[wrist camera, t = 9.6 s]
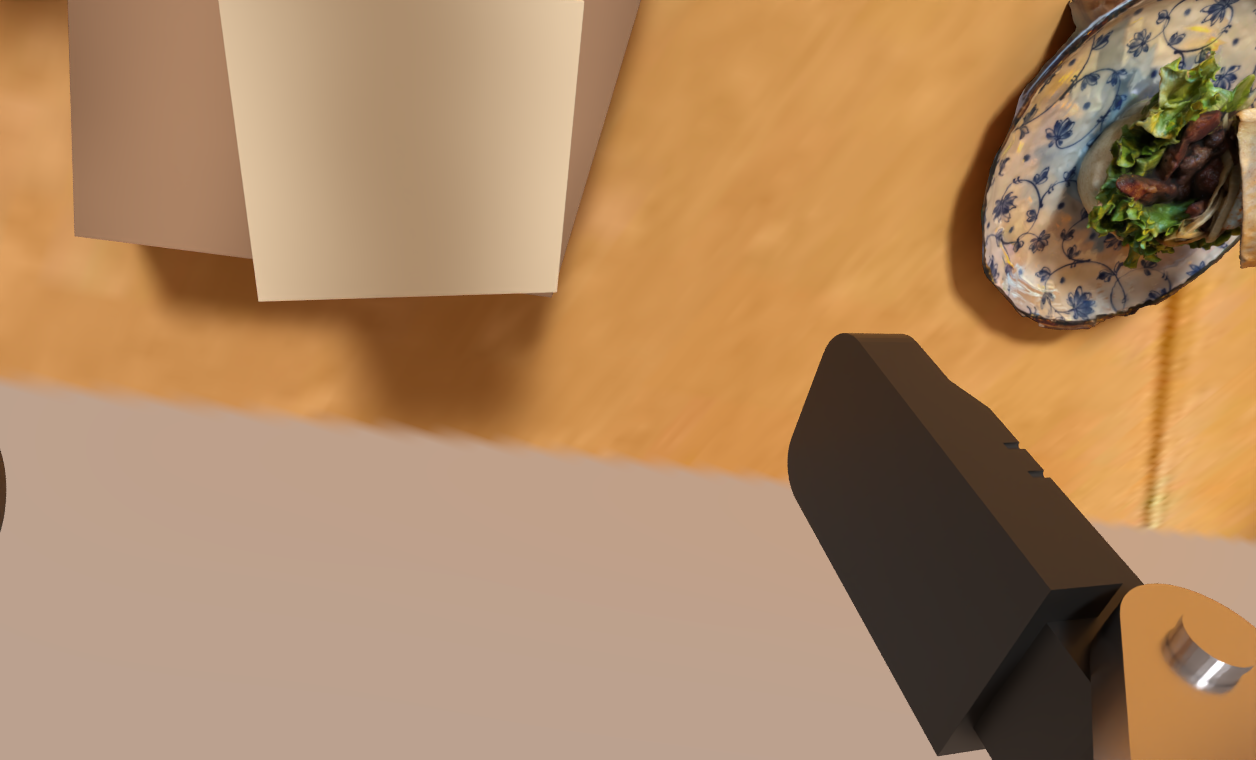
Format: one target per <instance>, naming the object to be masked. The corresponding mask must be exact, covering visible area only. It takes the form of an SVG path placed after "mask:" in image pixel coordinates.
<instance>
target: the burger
mask: <svg viewBox="0 0 1256 760" xmlns="http://www.w3.org/2000/svg"><path fill="white" fill-rule="evenodd" d="M1069 6H1070V8H1071V12H1072V17H1073V21H1074V23H1075V25H1076V30H1075V32H1074V33H1073V34H1072V35H1071V36H1070V37H1069V39H1068V40H1067V42H1066V43H1065V44H1063V45H1062V46H1061V48H1060V49H1059V50H1058V51H1057V52H1056V54H1055V55H1054V56H1053V57H1052V58H1051V59H1049V60H1048V61H1047V62H1046V63H1045V64H1044V65H1043V67H1042V68H1041V70H1040V72H1039V73H1038V75H1037V76H1036V77H1035V78H1034V79H1033V80H1032V81H1031V82H1030V83H1028V84H1027V86H1026V87H1025V89H1024V91H1023V92H1022V94H1021V96H1020V97H1019V101H1018V105H1017V108H1016V112H1015V116H1014V118H1013V121H1012V123H1011V126H1010V128H1009V131H1008V133H1007V136H1006V138H1005V140H1004V142H1003V144H1002V145H1001V147H1000V149H999V151H998V152H997V154H996V156H995V158H994V161H993V163H992V166H991V168H990V173H989V178H988V182H987V185H986V190H985V196H984V201H983V206H982V210H981V218H982V233H983V253H982V263H983V268H984V273H985V274H986V276H987V278H988V279H989V280H990V281H991V282H992V283H993V284H994V285H995V287H996V288H997V289H998V290H999V291H1000V292H1001V293H1002V294H1003V295H1004V296H1005V298H1006V299H1007V300H1008V301H1009V302H1010V303H1011V304H1012V305H1013V306H1014V308H1015V310H1016V311H1017V312H1018V313H1019V314H1020V315H1021V316H1022V317H1029V318H1031V319H1032V320H1034V321H1036V322H1038V323H1039V326H1040V327H1044V328H1050V329H1056V330H1063V329H1064V330H1075V329H1089V328H1091V327H1093V326H1095V325H1097V324H1098V323H1100V322H1104V320H1105V319H1110V318H1113V317H1115V316H1128V315H1132V314H1135V313H1136V311H1137V310H1138V309H1139V308H1142V307H1144V306H1148V305H1156V304H1158V303H1160V302H1162V301H1164V300H1166V299H1167V298H1168V297H1170V296H1171V295H1174V294H1175V293H1176V292H1177V291H1178V290H1179V289H1181V288H1182V287H1184V286H1186V285H1187V284H1188V283H1190V282H1192V281H1193V280H1195V279H1196V278H1197V277H1198V276H1199V275H1201V274H1202V273H1204V272H1205V271H1206V270H1207V269H1208V268H1209V267H1210V266H1212V265H1213V264H1215V263H1217V262H1218V261H1219V260H1220V259H1221V258H1222V257H1223V255H1224V254H1225V253H1226V252H1228V251H1229V250H1230V249H1231V248H1232V247H1233V246H1234V245H1235V244H1236V243H1237V242H1238V241H1239V240H1240V255H1239V258H1240V265H1241V267H1240V268H1247V267H1255V266H1256V0H1072V2H1071V3H1070V1H1069Z"/></svg>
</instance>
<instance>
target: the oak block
mask: <svg viewBox="0 0 1256 760" xmlns="http://www.w3.org/2000/svg"><path fill="white" fill-rule="evenodd" d="M218 2H219V9H220V17H221V24H222V31H223V39H224V46H225V54H226V61H227V69H228V76H229V84H230V91H231V99H232V106H233V114H234V121H235V129H236V136H237V144H238V151H239V159H240V166H241V174H242V181H243V189H244V196H245V204H246V211H247V219H248V226H249V234H250V241H251V249H252V256H253V264H254V271H255V279H256V286H257V294H258V301H259V302H261V301H292V300H324V299H355V298H387V297H419V296H450V295H482V294H513V293H545V292H557V285H558V275H559V264H560V254H561V243H562V232H563V222H564V211H565V201H566V190H567V180H568V169H569V158H570V148H571V137H572V127H573V116H574V105H575V95H576V84H577V74H578V63H579V53H580V42H581V31H582V21H583V10H584V1H583V0H218Z"/></svg>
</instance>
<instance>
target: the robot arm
mask: <svg viewBox="0 0 1256 760" xmlns="http://www.w3.org/2000/svg"><path fill="white" fill-rule="evenodd" d="M1018 444H1019V442H1018V440H1017V439H1016V438H1015V437H1014V436H1013V435H1012V434H1011V432H1010V431H1009V430H1008V429H1007V428H1006V427H1005V426H1004V424H1003V423H1002V422H1001V421H1000V420H999V419H998V418H997V416H996V415H995V414H994V413H993V412H992V411H991V410H990V408H988V407H987V406H985V405H984V404H983V403H981V402H980V401H978V400H977V399H975V398H974V397H973V396H971V395H970V394H968V393H967V392H966V391H964V390H963V389H961V388H960V387H958V386H957V385H956V384H954V383H953V382H951V381H950V380H949V379H948V378H947V377H946V376H945V375H944V373H943V372H942V371H941V370H940V369H939V368H938V366H937V365H936V364H935V363H934V362H933V361H932V359H931V358H930V357H929V356H928V355H927V354H926V352H925V351H924V350H923V349H922V348H921V347H920V345H919V344H918V343H917V342H916V341H915V340H914V339H913V338H911V337H910V336H908V335H905V334H864V333H842V334H839V335H837V336H835V337H834V338H833V339H832V340H831V341H830V342H829V344H828V345H827V347H826V349H825V351H824V353H823V356H822V359H821V361H820V364H819V367H818V369H817V372H816V375H815V377H814V380H813V383H812V385H811V388H810V391H809V393H808V396H807V398H806V401H805V404H804V406H803V409H802V412H801V414H800V417H799V420H798V422H797V425H796V428H795V430H794V433H793V436H792V438H791V442H790V445H789V450H788V475H789V481H790V485H791V489H792V492H793V494H794V496H795V498H796V500H797V502H798V504H799V506H800V508H801V510H802V511H803V513H804V515H805V517H806V518H807V520H808V522H809V524H810V526H811V528H812V529H813V531H814V533H815V535H816V537H817V539H818V540H819V542H820V544H821V546H822V548H823V549H824V551H825V553H826V555H827V557H828V558H829V560H830V562H831V564H832V566H833V568H834V569H835V571H836V573H837V575H838V577H839V578H840V580H841V582H842V584H843V586H844V587H845V589H846V591H847V593H848V595H849V597H850V598H851V600H852V602H853V604H854V606H855V607H856V609H857V611H858V613H859V615H860V616H861V618H862V620H863V622H864V624H865V626H866V627H867V629H868V631H869V633H870V634H871V636H872V638H873V640H874V642H875V644H876V646H877V647H878V649H879V651H880V653H881V655H882V656H883V658H884V660H885V662H886V664H887V665H888V667H889V669H890V671H891V673H892V675H893V676H894V678H895V680H896V682H897V684H898V685H899V687H900V689H901V691H902V693H903V695H904V696H905V698H906V700H907V702H908V703H909V705H910V707H911V709H912V711H913V713H914V714H915V716H916V718H917V720H918V722H919V723H920V725H921V727H922V729H923V731H924V733H925V734H926V736H927V738H928V740H929V742H930V743H931V745H932V747H933V749H934V751H935V753H936V754H937V756H942V755H949V754H955V753H961V752H968V751H974V750H980V749H986V750H987V752H988V753H989V755H990V757H991V758H992V760H1256V628H1255V627H1254V626H1253V625H1251V624H1250V623H1249V622H1247V621H1246V620H1245V619H1244V618H1242V617H1241V616H1239V615H1238V614H1236V613H1235V612H1233V611H1232V610H1230V609H1229V608H1227V607H1225V606H1224V605H1222V604H1220V603H1218V602H1216V601H1214V600H1213V599H1210V598H1208V597H1206V596H1204V595H1202V594H1199V593H1197V592H1194V591H1191V590H1188V589H1185V588H1182V587H1177V586H1173V585H1167V584H1158V583H1157V584H1145V585H1144V584H1143V583H1142V582H1141V581H1140V579H1139V578H1138V577H1137V576H1136V575H1135V574H1134V573H1133V571H1132V570H1131V569H1130V568H1129V567H1128V566H1127V565H1126V563H1125V562H1124V561H1123V560H1122V559H1121V558H1120V557H1119V556H1118V554H1117V553H1116V552H1115V551H1114V550H1113V549H1112V547H1111V546H1110V545H1109V544H1108V543H1107V542H1106V541H1105V540H1104V538H1103V537H1102V536H1101V535H1100V534H1099V533H1098V532H1097V530H1096V529H1095V528H1094V527H1093V526H1092V525H1091V524H1090V522H1089V521H1088V520H1087V519H1086V518H1085V517H1084V516H1083V514H1082V513H1081V512H1080V511H1079V510H1078V509H1077V508H1076V506H1075V505H1074V504H1073V503H1072V502H1071V501H1070V500H1069V498H1068V497H1067V496H1066V495H1065V494H1064V493H1063V492H1062V491H1061V489H1060V488H1059V487H1058V486H1057V485H1056V484H1055V483H1054V481H1053V480H1052V479H1051V478H1044V476H1043V471H1044V470H1043V469H1042V468H1041V467H1040V465H1039V464H1038V463H1037V462H1036V461H1035V460H1034V459H1033V457H1032V456H1031V455H1030V454H1029V453H1028V452H1027V451H1026V449H1019V446H1018ZM5 504H6V475H5V468H4V462H3V458H2V454H1V451H0V530H1V527H2V523H3V519H4V512H5Z"/></svg>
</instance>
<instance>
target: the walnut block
mask: <svg viewBox="0 0 1256 760" xmlns="http://www.w3.org/2000/svg"><path fill="white" fill-rule="evenodd" d="M583 1H584V10H583V21H582V31H581V42H580V53H579V63H578V74H577V84H576V95H575V105H574V116H573V127H572V137H571V148H570V158H569V169H568V180H567V190H566V201H565V211H564V222H563V232H562V243H561V254H560V264H559V271H560V268H561V265H562V261H563V258H564V255H565V251H566V248H567V245H568V241H569V238H570V235H571V231H572V228H573V225H574V221H575V218H576V215H577V211H578V208H579V205H580V201H581V198H582V195H583V191H584V188H585V185H586V181H587V178H588V175H589V171H590V168H591V165H592V161H593V158H594V155H595V151H596V148H597V145H598V141H599V138H600V135H601V131H602V128H603V125H604V121H605V118H606V115H607V111H608V108H609V105H610V101H611V98H612V95H613V91H614V88H615V85H616V81H617V78H618V75H619V71H620V68H621V64H622V61H623V58H624V54H625V51H626V48H627V44H628V41H629V38H630V34H631V31H632V28H633V24H634V21H635V18H636V14H637V11H638V8H639V4H640V1H641V0H583ZM68 27H69V61H70V95H71V128H72V162H73V196H74V230H75V236H78V237H85V238H93V239H101V240H109V241H117V242H124V243H132V244H140V245H148V246H155V247H163V248H171V249H179V250H187V251H194V252H202V253H210V254H218V255H225V256H233V257H241V258H249V259H253V256H252V249H251V241H250V234H249V226H248V219H247V211H246V204H245V196H244V189H243V181H242V174H241V166H240V159H239V151H238V144H237V136H236V129H235V121H234V114H233V106H232V99H231V91H230V84H229V76H228V69H227V61H226V54H225V46H224V39H223V31H222V24H221V17H220V9H219V2H218V0H68ZM521 294H529V295H537V296H545V297H552V295H553V292H545V293H521Z"/></svg>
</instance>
